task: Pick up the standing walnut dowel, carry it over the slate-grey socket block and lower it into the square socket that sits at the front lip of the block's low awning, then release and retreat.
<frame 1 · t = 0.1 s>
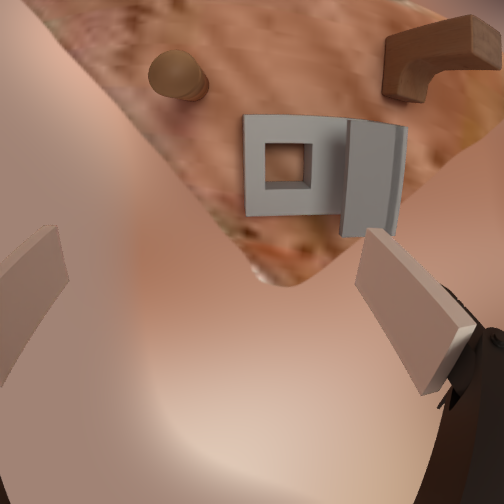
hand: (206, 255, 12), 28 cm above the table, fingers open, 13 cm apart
socket block: (305, 160, 38), on the table
wooden block: (396, 69, 33), on the table
dowel: (192, 85, 33), on the table
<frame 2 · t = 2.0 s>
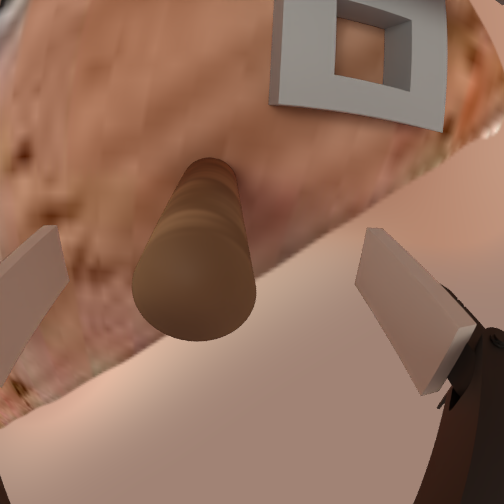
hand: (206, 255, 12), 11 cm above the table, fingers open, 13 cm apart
socket block: (353, 17, 17), on the table
dowel: (209, 184, 22), on the table
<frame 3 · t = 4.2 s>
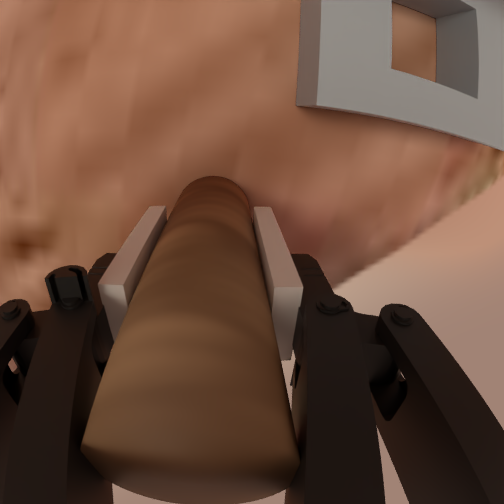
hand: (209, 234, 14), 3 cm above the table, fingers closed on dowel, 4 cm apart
socket block: (399, 0, 12), on the table
dowel: (212, 211, 17), on the table, touching gripper
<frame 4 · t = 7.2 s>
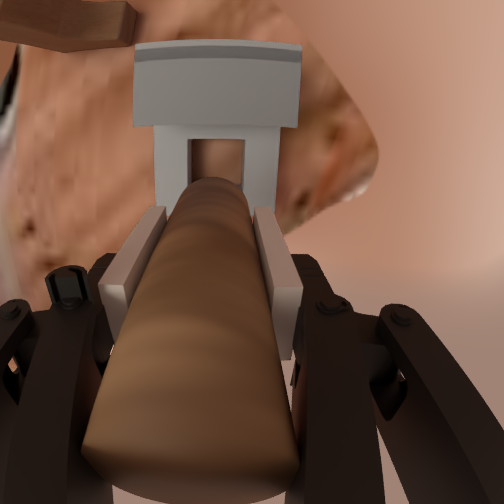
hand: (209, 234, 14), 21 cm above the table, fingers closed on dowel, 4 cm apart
socket block: (217, 133, 31), on the table
wooden block: (99, 32, 24), on the table
dowel: (212, 212, 17), point 17 cm above the table, touching gripper
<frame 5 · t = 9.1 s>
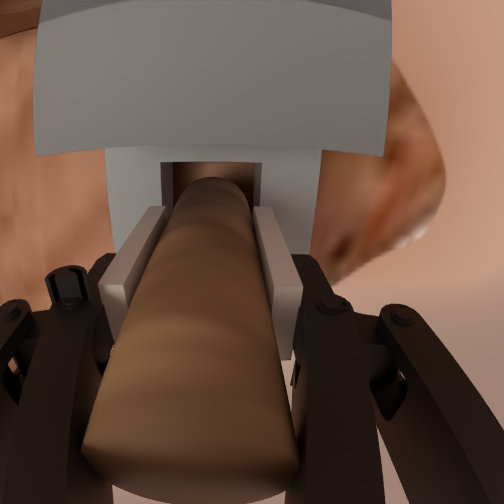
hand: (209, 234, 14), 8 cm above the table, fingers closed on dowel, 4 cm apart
socket block: (213, 147, 19), on the table
wooden block: (41, 4, 13), on the table
dowel: (212, 212, 17), point 4 cm above the table, touching gripper
when the fingers open (5 cm above the table, at t = 10.5 s): dowel drops 1 cm, on the table.
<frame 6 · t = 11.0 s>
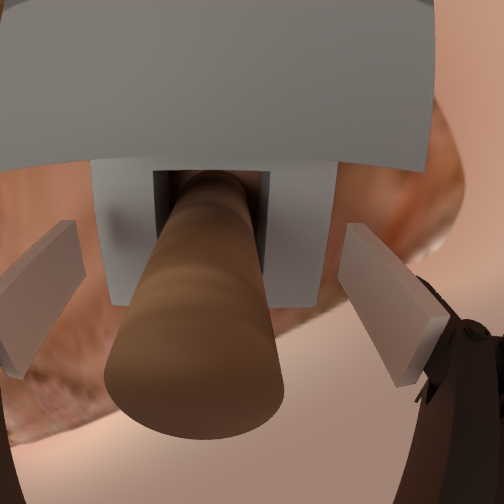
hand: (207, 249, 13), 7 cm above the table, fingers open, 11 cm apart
socket block: (214, 152, 17), on the table
dowel: (213, 201, 19), on the table
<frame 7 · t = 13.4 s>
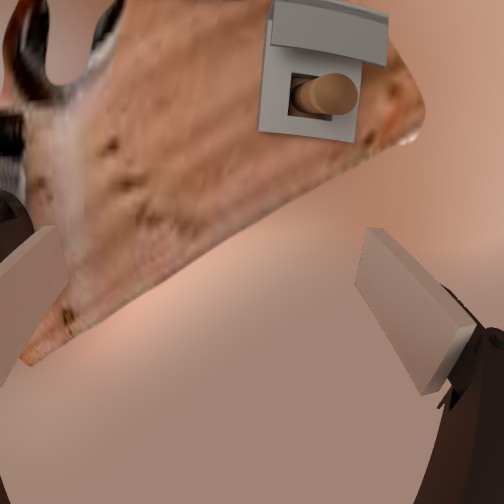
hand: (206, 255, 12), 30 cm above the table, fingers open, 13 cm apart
socket block: (307, 76, 35), on the table
dowel: (304, 97, 36), on the table
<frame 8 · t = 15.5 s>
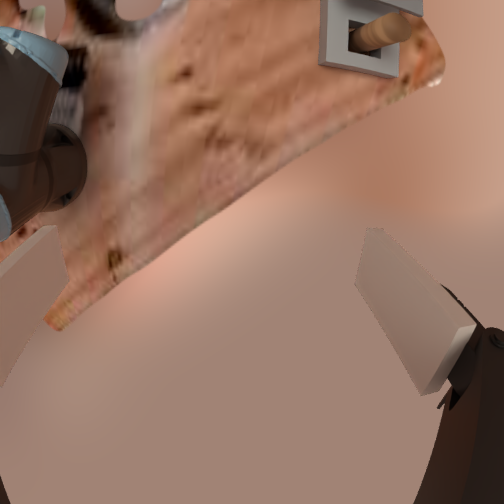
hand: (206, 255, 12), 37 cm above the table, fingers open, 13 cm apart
socket block: (355, 27, 37), on the table
dowel: (354, 43, 38), on the table
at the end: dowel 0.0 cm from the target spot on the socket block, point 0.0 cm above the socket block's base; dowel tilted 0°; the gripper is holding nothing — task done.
